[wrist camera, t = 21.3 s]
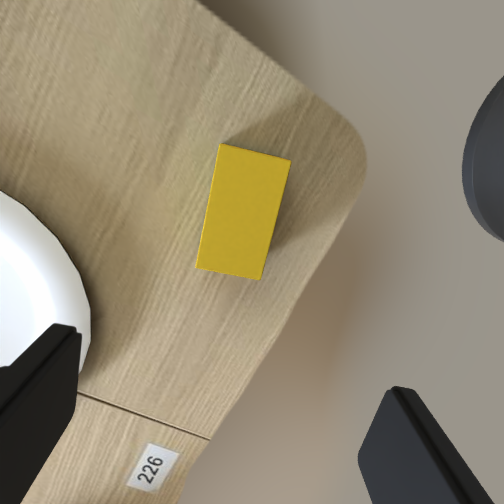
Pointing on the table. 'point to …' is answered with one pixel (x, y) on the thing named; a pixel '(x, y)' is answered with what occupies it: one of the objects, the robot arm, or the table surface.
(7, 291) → the plate
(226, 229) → the sponge
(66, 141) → the table surface
